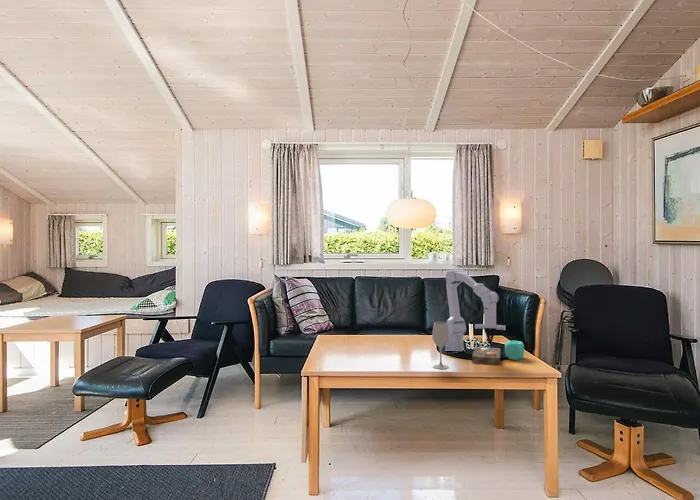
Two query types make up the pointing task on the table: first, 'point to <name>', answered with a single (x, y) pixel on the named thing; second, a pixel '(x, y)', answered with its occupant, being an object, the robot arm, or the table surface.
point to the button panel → (481, 357)
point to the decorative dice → (514, 350)
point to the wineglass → (440, 339)
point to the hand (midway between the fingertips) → (490, 343)
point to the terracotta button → (490, 354)
